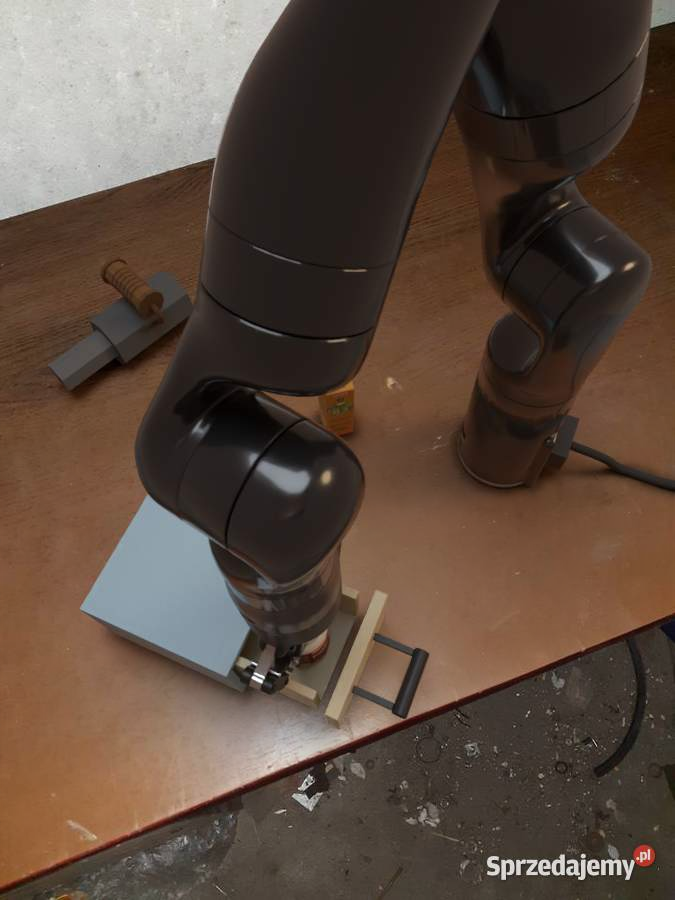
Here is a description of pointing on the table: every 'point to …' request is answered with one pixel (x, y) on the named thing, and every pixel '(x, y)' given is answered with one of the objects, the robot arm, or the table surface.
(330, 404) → the supplement box
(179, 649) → the blue drawer cabinet
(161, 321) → the mechanical component
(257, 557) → the robot arm
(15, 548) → the table surface
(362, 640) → the drawer
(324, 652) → the pill bottle
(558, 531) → the table surface
